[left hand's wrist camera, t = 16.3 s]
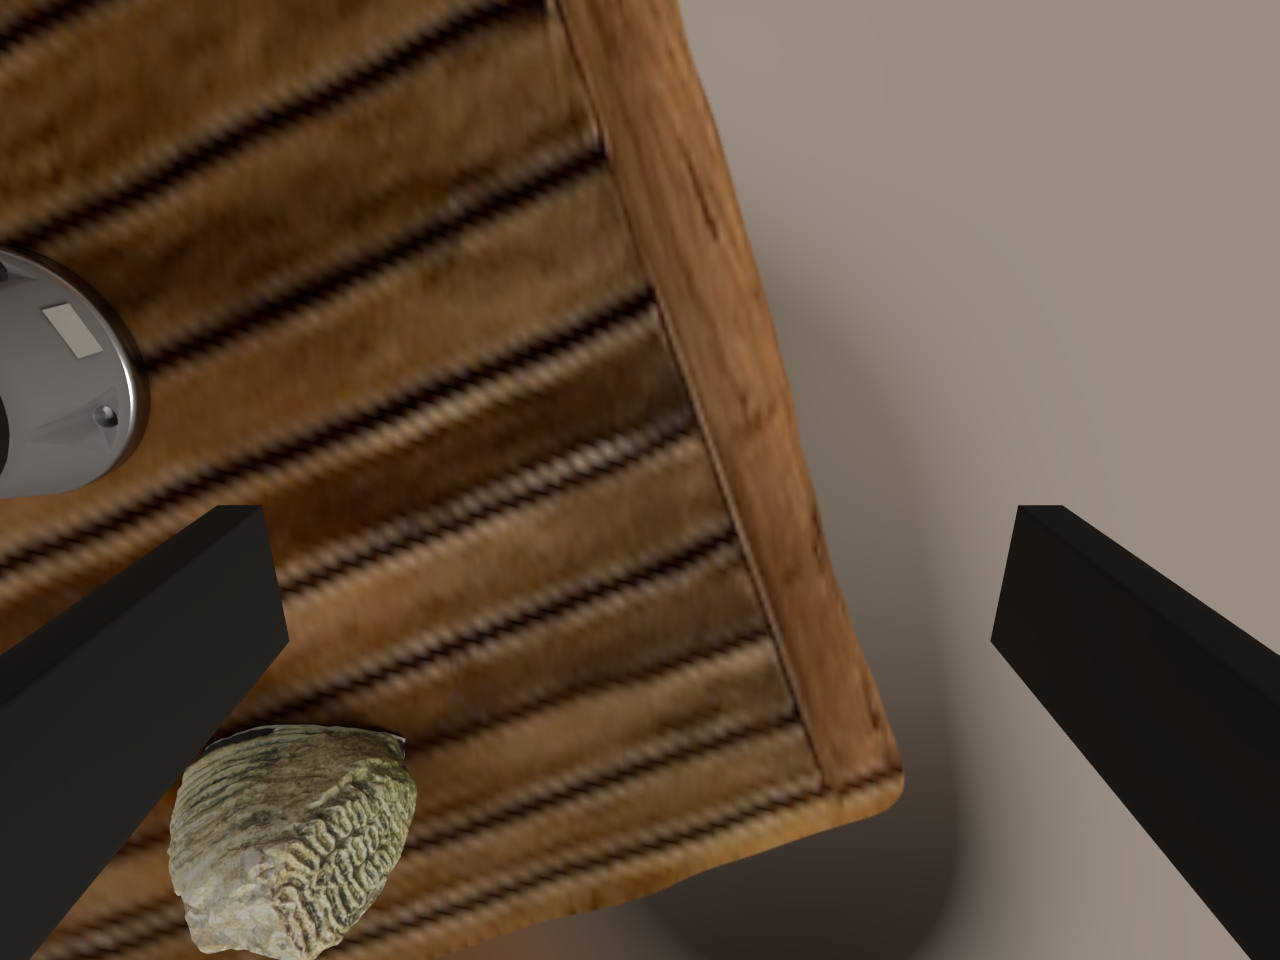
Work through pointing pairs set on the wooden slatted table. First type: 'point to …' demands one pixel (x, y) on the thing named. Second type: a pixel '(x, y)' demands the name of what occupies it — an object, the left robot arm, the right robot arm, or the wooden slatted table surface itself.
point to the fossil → (288, 836)
